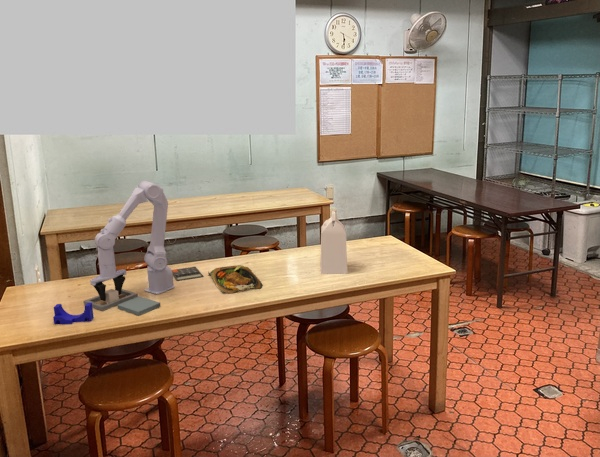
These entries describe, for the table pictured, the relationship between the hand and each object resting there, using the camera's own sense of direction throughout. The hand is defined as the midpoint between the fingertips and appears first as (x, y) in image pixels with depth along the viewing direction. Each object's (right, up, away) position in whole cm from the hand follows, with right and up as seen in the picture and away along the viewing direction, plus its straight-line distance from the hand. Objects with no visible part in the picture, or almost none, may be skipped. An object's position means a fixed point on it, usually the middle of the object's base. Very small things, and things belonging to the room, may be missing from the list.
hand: (111, 297), depth 200 cm
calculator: (+23, +6, +30) cm, 38 cm away
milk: (+87, +8, +32) cm, 93 cm away
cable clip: (-7, -6, -17) cm, 20 cm away
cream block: (0, -1, 0) cm, 2 cm away
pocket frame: (0, -1, 0) cm, 1 cm away
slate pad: (+13, -3, -6) cm, 15 cm away
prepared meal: (+45, +4, +20) cm, 50 cm away
